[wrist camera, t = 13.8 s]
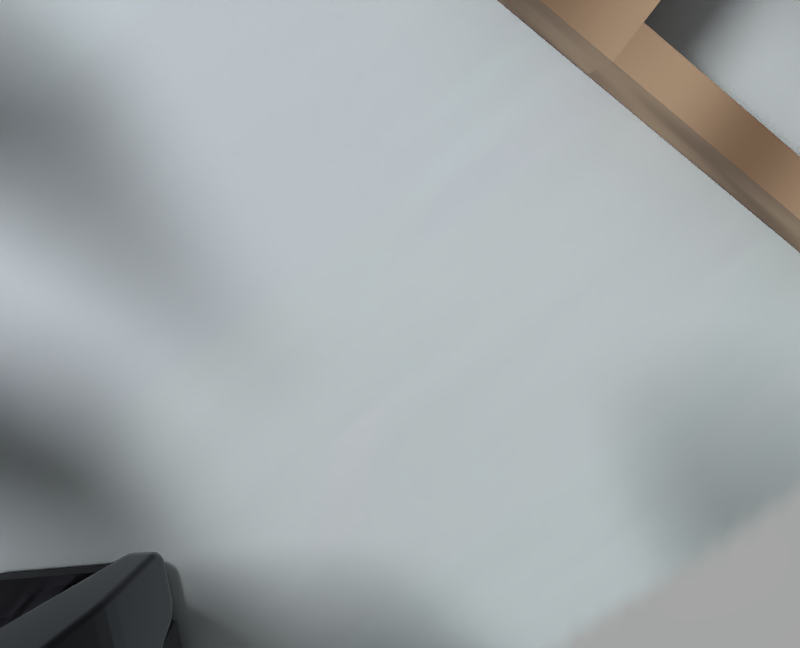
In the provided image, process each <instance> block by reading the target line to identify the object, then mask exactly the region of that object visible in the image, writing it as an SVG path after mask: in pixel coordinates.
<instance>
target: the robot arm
mask: <svg viewBox="0 0 800 648" xmlns="http://www.w3.org/2000/svg"><path fill="white" fill-rule="evenodd" d="M172 610H173V604H172V597H171V593H170V588H169V583H168V578H167V574H166V569H165V564H164V561H163V558H162V556H161V555H160V554H158V553H157V552H142V553H131V554H128V555H126V556H124V557H122V558H121V559H119V560H117V561H116V562H114V563H112V564H110V565H101V566H88V567H76V568H64V569H52V570H40V571H27V572H15V573H3V574H0V648H182V647H181V642H180V638H179V633H178V628H177V623H176V621H175V620H174V618H173V617H172Z"/></svg>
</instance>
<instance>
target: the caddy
mask: <svg viewBox="0 0 800 648" xmlns="http://www.w3.org/2000/svg"><path fill="white" fill-rule="evenodd" d="M498 1H499V2H500V3H501V4H503V5H504V6H505V7H506V8H507V9H509V10H510V11H511V12H512V13H513V14H515V15H516V16H517V17H518V18H519V19H521V20H522V21H523V22H524V23H525V24H527V25H528V26H529V27H530V28H531V29H533V30H534V31H535V32H536V33H537V34H539V35H540V36H541V37H542V38H543V39H545V40H546V41H547V42H548V43H549V44H551V45H552V46H553V47H554V48H555V49H557V50H558V51H559V52H560V53H561V54H563V55H564V56H565V57H566V58H567V59H569V60H570V61H571V62H572V63H573V64H575V65H576V66H577V67H578V68H579V69H581V70H582V71H583V72H584V73H585V74H587V75H588V76H589V77H590V78H591V79H593V80H594V81H595V82H596V83H597V84H599V85H600V86H601V87H602V88H603V89H605V90H606V91H607V92H608V93H609V94H610V95H612V96H613V97H614V98H615V99H616V100H618V101H619V102H620V103H621V104H622V105H624V106H625V107H626V108H627V109H628V110H630V111H631V112H632V113H633V114H634V115H636V116H637V117H638V118H639V119H640V120H642V121H643V122H644V123H645V124H646V125H648V126H649V127H650V128H651V129H652V130H654V131H655V132H656V133H657V134H658V135H660V136H661V137H662V138H663V139H664V140H666V141H667V142H668V143H669V144H670V145H672V146H673V147H674V148H675V149H676V150H678V151H679V152H680V153H681V154H682V155H684V156H685V157H686V158H687V159H688V160H690V161H691V162H692V163H693V164H694V165H696V166H697V167H698V168H699V169H700V170H702V171H703V172H704V173H705V174H706V175H708V176H709V177H710V178H711V179H712V180H714V181H715V182H716V183H717V184H718V185H720V186H721V187H722V188H723V189H724V190H726V191H727V192H728V193H729V194H730V195H732V196H733V197H734V198H735V199H736V200H738V201H739V202H740V203H741V204H742V205H744V206H745V207H746V208H747V209H748V210H750V211H751V212H752V213H753V214H754V215H756V216H757V217H758V218H759V219H760V220H762V221H763V222H764V223H765V224H766V225H768V226H769V227H770V228H771V229H772V230H774V231H775V232H776V233H777V234H778V235H780V236H781V237H782V238H783V239H784V240H786V241H787V242H788V243H789V244H790V245H792V246H793V247H794V248H795V249H796V250H798V251H799V252H800V156H798V155H797V154H796V153H795V152H794V151H793V150H791V149H790V148H789V147H788V146H787V145H786V144H784V143H783V142H782V141H781V140H780V139H779V138H777V137H776V136H775V135H774V134H773V133H772V132H771V131H769V130H768V129H767V128H766V127H765V126H764V125H762V124H761V123H760V122H759V121H758V120H757V119H755V118H754V117H753V116H752V115H751V114H750V113H748V112H747V111H746V110H745V109H744V108H743V107H742V106H740V105H739V104H738V103H737V102H736V101H735V100H733V99H732V98H731V97H730V96H729V95H728V94H726V93H725V92H724V91H723V90H722V89H721V88H720V87H718V86H717V85H716V84H715V83H714V82H713V81H711V80H710V79H709V78H708V77H707V76H706V75H704V74H703V73H702V72H701V71H700V70H699V69H697V68H696V67H695V66H694V65H693V64H692V63H691V62H689V61H688V60H687V59H686V58H685V57H684V56H682V55H681V54H680V53H679V52H678V51H677V50H675V49H674V48H673V47H672V46H671V45H670V44H669V43H667V42H666V41H665V40H664V39H663V38H662V37H660V36H659V35H658V34H657V33H656V32H655V31H653V30H652V29H651V28H650V27H649V26H648V25H646V24H645V23H644V21H645V20H646V19H647V17H648V16H649V15H650V13H651V12H652V11H653V10H654V8H655V7H656V6H657V4H658V3H659V2H660V0H498Z"/></svg>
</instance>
